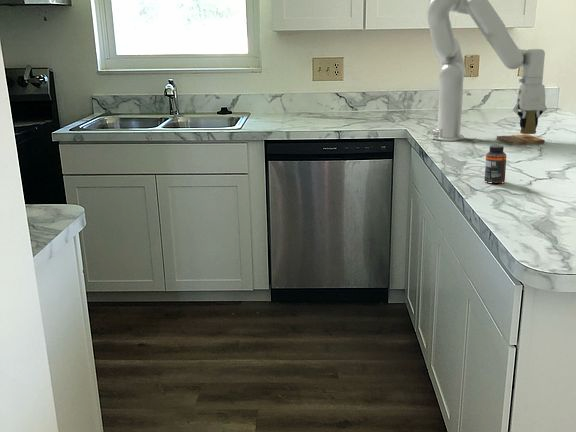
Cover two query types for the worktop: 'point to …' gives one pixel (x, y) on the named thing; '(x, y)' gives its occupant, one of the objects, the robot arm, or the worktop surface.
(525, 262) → the worktop surface
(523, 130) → the cork
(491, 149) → the supplement bottle
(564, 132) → the worktop surface
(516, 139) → the board
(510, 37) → the robot arm
